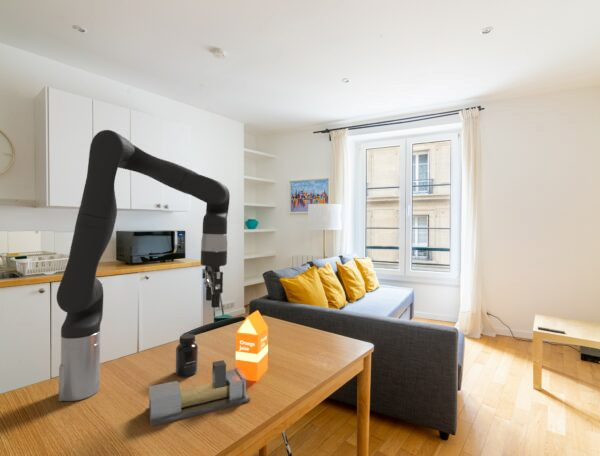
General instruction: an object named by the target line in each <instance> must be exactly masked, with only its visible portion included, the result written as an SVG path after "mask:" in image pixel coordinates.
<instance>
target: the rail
mask: <svg viewBox="0 0 600 456" xmlns="http://www.w3.org/2000/svg"><path fill="white" fill-rule="evenodd" d="M226 381H227V382H228V384H229V388H228V397H224V398H220V399H216V400H212V401H208V402H204V403H199V404H195V405H191V406H187V407H183V408H181V388H180V384H179V382H178V380H174V381H170V382H165V383H159V384H155V385H150V386H149V389H148V390H149V391H148V394H149V395H148V397H149V398H148V412H149V421H150V427H155V426H158V425H162V424H167V423H169V422H175V421H178V420H182V419H186V418H189V417H190V418H191V417H194V416H198V415H200V414H201V415H202V414H206V413H209V412H214V411H218V410H222V409H225V408H229V407H233V406H237V405H241V404H245V403H249V402H250V401H251V397H250V396H249V394H248V392H247V380H246V377H245V376H244V374H243V373H242V372H241V370H240V369H239V368H238V367H236V366H235V367H234V369H229V370H226Z"/></svg>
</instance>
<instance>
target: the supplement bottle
mask: <svg viewBox="0 0 600 456" xmlns="http://www.w3.org/2000/svg"><path fill="white" fill-rule="evenodd" d="M178 342H179V344H177V346H176V347H175V366H174V368H175V375H176V376H178V377H182V378H183V377H184V378H185V377H187V378H188V377H191V376H193V375H195V374H197V372H198V359H199V358H198V357H199V356H198V354H199V351H198V350H199V347H198V344H197V343H196V336H195V334H191V333H185V334H181V335H180V336H179V341H178Z"/></svg>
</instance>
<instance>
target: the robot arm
mask: <svg viewBox="0 0 600 456" xmlns="http://www.w3.org/2000/svg"><path fill="white" fill-rule="evenodd" d="M118 168H119V169H123V170H128V171H132V172H136V173H139V174H141V175H145V176H147V177H149V178H150V179H153V180H155V181H157V182H159V183H161V184H162V185H164V186H166V187H170V188H171V189H174V190H176V191H178V192H181V193H183V194H186V195H190V196H192V197H194V198H196V199H198V200H200V201H202V202H205V203H206V209H205V215H204V216H203V220H202V231H201V233H202V234H201V235H202V236H201V241H200V245H201V246H200V265H201V266H203V267H204V283H203V284H204V287H205V300H206V301H207V302H210V301H211V304H210V306H211V308H214V309H215V308H216V309H217V308H219V307H220V303H221V299H220V298H221V294H223V293H224V290H223V287H224V286H223V285H224V277H223V276H224V273H223V271H220V270H221V269H220V268H221V267H224V266H227V262H228V215H229V214H228V213H229V208H230V194H231V193H230V191H229V188H228V187H227V185H225V184H223V183H222V182H220V181H218V180H216V179H213V178H211V177H208V176H206V175H202V174H199V173H197V172H196V171H194V170H192V169H189V168H187V167H185V166H183V165H180V164H178V163H175V162H172V161H168V160H165V159H162V158H159V157H157V156H154V155H153V154H149V153H147V152H146V151H144V150H143V149H141V148H139V147H138V146H136V145H134V144H133V143H132V142H130V140H129V139H127V138H125V137H124V136H122V135H121V134H119V133H118V132H116V131H114V130H110V129H103V130H100V131H98V132H97V133H96V134H95V135H94V137H93V138H92V140H91V142H90V146H89V154H88V164H87V172H86V178H85V183H84V189H83V193H82V197H81V201H80V205H79V208H78V212H77V213H78V214H77V217H76V220H75V221H76V222H75V225H74V231H73V237H72V240H71V246H70V249H69V254H68V259H67V262H66V263H67V264H66V267H65V269H64V271H63V274H62V278H61V279H60V280H61V281H60V282H59V286H58V288H57V291H56V302H57V305H58V307H59V309H60V310H62V311H63V312H65V313H66V316H65V319H64V322H63V323H62V325H61V328H60V364H59V366H58V402H63V401H65V402H75V401H80V400H86V399H88V398H90V397H91V396H94V395H95V394H96V393H99V390H100V385H101V384H100V377H101V376H100V375H101V374H100V373H101V371H100V368H101V366H100V365H101V364H100V363H101V362H100V361H101V355H100V354H101V347H100V346H101V322H102V320H103V313H104V312H103V311H104V287H103V284H102V282H101V281H100V280H99V279H98V278H97V276H96V274H97V270H98V267H99V263H100V261H101V258H102V257H103V255H104V253H105V251H106V249H107V247H108V245H109V243H110V241H111V239H112V235H113V233H114V229H115V225H116V219H117V216H118V215H117V214H118V207H117V206H118V205H117V198H116V191H115V180H116V177H117V172H118Z"/></svg>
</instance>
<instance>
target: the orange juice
mask: <svg viewBox="0 0 600 456" xmlns="http://www.w3.org/2000/svg"><path fill="white" fill-rule="evenodd" d="M268 352H269V326H268V325H267V323H266V322H265V320H264V318H263V317H262V314H261V313H260V311H259V310H255V311H254V312H252V313H251V314H250V315H248V316H247V317H246V318H245V319H244V321H243V322H242V324H241V325H240V326H239V328H238V329H237V331H236V332H235V367H238V368H239V369H240V370H241V372H242V373H243V374H244V376H245V377H246V381H250V382H251V381H253V382H258V381H259V380H260V379H261V378H262V376H264V374H265V373H266V371H268V363H269V362H268V358H269V357H268V355H269V354H268Z"/></svg>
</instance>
